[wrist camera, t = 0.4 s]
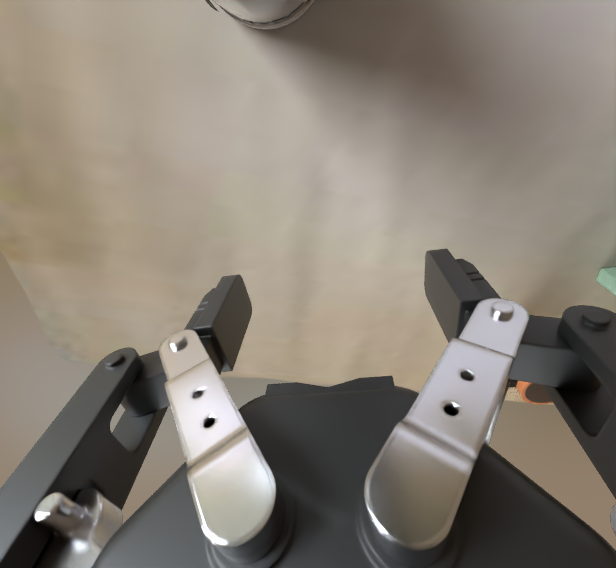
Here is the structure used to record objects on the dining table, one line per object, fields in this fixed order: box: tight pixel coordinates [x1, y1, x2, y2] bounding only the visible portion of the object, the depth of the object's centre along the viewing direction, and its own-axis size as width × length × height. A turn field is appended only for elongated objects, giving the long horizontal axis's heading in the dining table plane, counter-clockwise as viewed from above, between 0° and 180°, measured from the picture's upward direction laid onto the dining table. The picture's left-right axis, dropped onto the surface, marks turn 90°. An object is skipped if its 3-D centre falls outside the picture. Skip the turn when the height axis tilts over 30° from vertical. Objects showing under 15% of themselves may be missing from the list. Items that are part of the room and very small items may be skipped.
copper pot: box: [509, 379, 553, 404], centre depth 34 cm, size 5×8×8 cm
